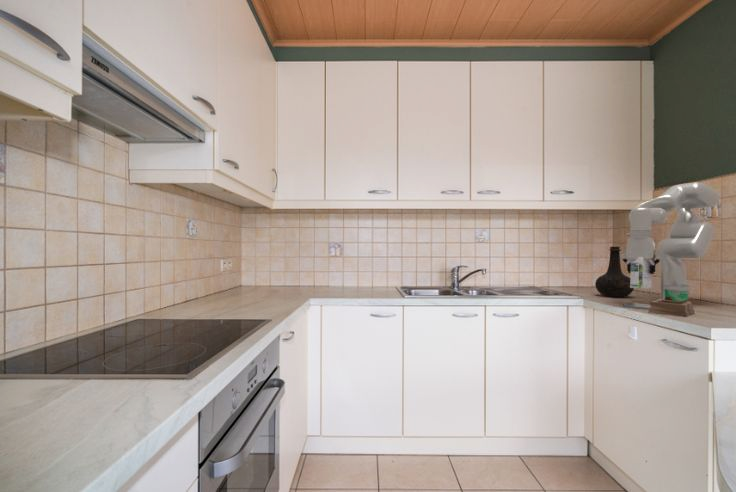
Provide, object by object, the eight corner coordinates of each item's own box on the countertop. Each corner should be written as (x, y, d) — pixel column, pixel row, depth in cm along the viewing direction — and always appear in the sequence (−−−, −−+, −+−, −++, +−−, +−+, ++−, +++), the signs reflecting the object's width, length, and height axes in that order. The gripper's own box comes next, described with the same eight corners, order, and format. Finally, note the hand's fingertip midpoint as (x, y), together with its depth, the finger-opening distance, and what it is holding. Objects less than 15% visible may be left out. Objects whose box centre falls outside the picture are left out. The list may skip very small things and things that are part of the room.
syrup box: (629, 287, 164) (629, 256, 164) (641, 287, 164) (641, 256, 165) (640, 288, 158) (640, 256, 158) (652, 289, 159) (652, 256, 159)
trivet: (631, 304, 169) (631, 302, 169) (660, 307, 160) (660, 305, 160) (622, 306, 163) (622, 304, 163) (652, 310, 154) (652, 308, 154)
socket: (657, 309, 155) (657, 299, 155) (694, 313, 145) (694, 302, 145) (648, 312, 148) (648, 301, 148) (686, 316, 138) (686, 305, 138)
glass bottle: (590, 296, 199) (589, 246, 199) (602, 293, 210) (602, 246, 210) (627, 299, 184) (627, 246, 185) (639, 296, 195) (638, 246, 195)
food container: (678, 309, 155) (679, 286, 155) (662, 306, 161) (663, 284, 161) (696, 308, 159) (697, 286, 159) (681, 305, 165) (682, 284, 165)
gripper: (615, 235, 167) (615, 272, 166) (662, 234, 152) (662, 274, 152) (621, 235, 171) (622, 272, 171) (667, 234, 157) (667, 274, 157)
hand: (641, 273), depth 161 cm, fingers closed on syrup box, 7 cm apart
